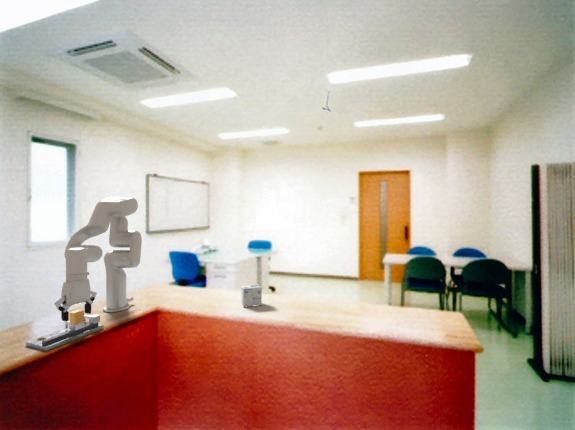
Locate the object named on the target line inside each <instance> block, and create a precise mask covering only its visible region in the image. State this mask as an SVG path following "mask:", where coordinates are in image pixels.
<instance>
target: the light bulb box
mask: <svg viewBox="0 0 575 430" xmlns="http://www.w3.org/2000/svg"><path fill="white" fill-rule="evenodd" d="M262 293H263V292H262V286H261V285H260V284H249V285H241V306H242V305H243V306H253V305H261V306H262V299H263V298H262V296H263V295H262ZM243 306H242V307H243ZM253 307H254V306H253Z"/></svg>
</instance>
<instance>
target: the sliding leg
mask: <svg viewBox="0 0 575 430" xmlns="http://www.w3.org/2000/svg"><path fill="white" fill-rule="evenodd" d="M84 315H85V309H76V310H73V311H70V312H69V321H64V323H65V328H66V329H67V328H68V327H69V329H71V330H78V329H81V328H83V327H85V323H84ZM68 325H69V326H68Z"/></svg>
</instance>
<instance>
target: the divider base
mask: <svg viewBox="0 0 575 430" xmlns="http://www.w3.org/2000/svg"><path fill="white" fill-rule="evenodd" d="M86 319H88V321H86ZM84 323H85V327H83V328H81V329H78V330H71V329H69V326H68V328H67V329H66V327H64V328H62V329H60V330H57V331H54V332H51V333H48V334H44V335H42V336H39V337H37V338H34V339H31V340H28V341H26V342H25V346H26V347H29V348H33V349H37V350H40V351H43V352H48V351H50V350H52V349H55V348H58V347H60V346H62V345H65V344H69V343H70V342H73V341H75V340H77V339H82V338H84V337H86V336H87V335H91V334H92V333H96V332H98V331H100V330H103V329H104V325H103V324H99V323H101V314H91V315H90V314H84Z"/></svg>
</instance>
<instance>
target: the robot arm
mask: <svg viewBox="0 0 575 430" xmlns="http://www.w3.org/2000/svg"><path fill="white" fill-rule="evenodd" d="M138 208H139V203H138V201H137V198H134V197H123V196H121V197H120V196H119V197H118V196H116V197H115V196H114V197H112V196H110V197H109V196H108V197H105V198H104V199H102V200H99V201H98V202H97V203H96V205H95V207H94V209H93V211H92V214H91V216H90V218H89V221H88V223H87V224H86V225H85V226H83V227H81V228H80V229H79V230H77V231H76V232H75V233H74V234H73V235H71V237H70V239H69V240H68V242H67V245H66V247H65V249H64V258H65V281H63V283H62V289H61V297H60V298H59V299H58V300H57V301H55V302H54V307H56V309H57V310H58V311H59V312H61V313H60V314H61V321H62V322H63V321H64V322H65V321H70V312H69V309H70V307H73V306H76V305H79V304H82V303H84V314H86V315H90V314H91V315H92V305H93V302H94V301H95V299H96V296H97V294H98V293H97V292H96V291H93V290H91V285H90V280H89V278H88V276H89V275H90V272H89V271H88V263H95V262H98V261H99V260H101V258H102V257H103V262H104V266H105V267H104V268H105V274H106V275H105V278H106V279H105V281H106V282H105V285H106V287H105V291H106V292H105V301H106V302H105V303H106V304H105V306H104V307H102V311H103V312H105V313H116V312H121V311H125V310H127V309H129V308H130V304H129V303H130V302H132V301H134V297H133V296H132V297H129V298H128V297H127V274H126V271H125V270H124V269H135V268H137V267H138V266H140V262H141V255H142V243H143V242H142V241H143V240H142V235H141V232H140V231H139V230H134V229H128V228H129V221H128V218H127V217H128V216H130V215H132V214H135V213H136V211H138ZM108 230H109V236H108V243H109V245H110V246H111V247H113V248H121V249H112V250H109V251H107V252H106V253H105V254H104V256H103V249H102V248H101V247H100V246H99V245H94V244H89V245H87V244H83V243H84V242H86V241H87V240H89V239H91V238H94V237H97V236H100V235H103V234H104V233H106V232H107V231H108ZM122 248H125V249H122ZM126 248H127V249H126ZM128 249H129V250H128Z"/></svg>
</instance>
